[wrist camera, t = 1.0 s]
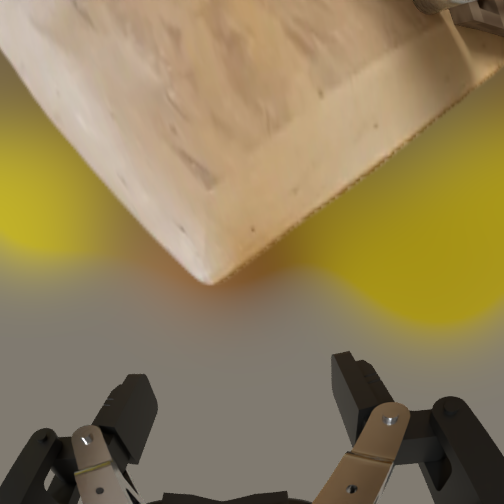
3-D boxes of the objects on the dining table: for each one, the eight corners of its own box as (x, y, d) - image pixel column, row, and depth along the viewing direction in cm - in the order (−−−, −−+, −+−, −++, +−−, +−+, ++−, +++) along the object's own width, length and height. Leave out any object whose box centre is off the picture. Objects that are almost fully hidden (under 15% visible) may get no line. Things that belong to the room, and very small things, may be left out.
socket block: (434, -29, 19) (451, -38, 15) (496, -9, 18) (513, -12, 13) (454, 24, 24) (474, 20, 19) (511, 39, 22) (530, 38, 18)
